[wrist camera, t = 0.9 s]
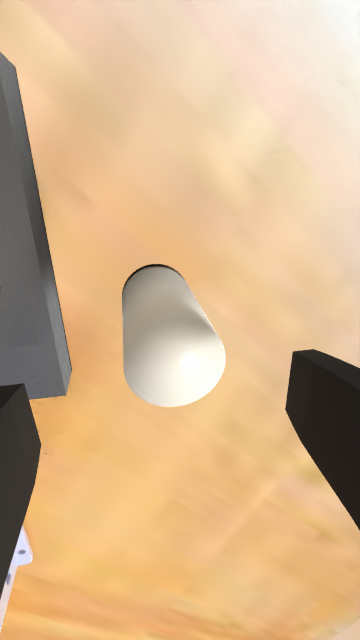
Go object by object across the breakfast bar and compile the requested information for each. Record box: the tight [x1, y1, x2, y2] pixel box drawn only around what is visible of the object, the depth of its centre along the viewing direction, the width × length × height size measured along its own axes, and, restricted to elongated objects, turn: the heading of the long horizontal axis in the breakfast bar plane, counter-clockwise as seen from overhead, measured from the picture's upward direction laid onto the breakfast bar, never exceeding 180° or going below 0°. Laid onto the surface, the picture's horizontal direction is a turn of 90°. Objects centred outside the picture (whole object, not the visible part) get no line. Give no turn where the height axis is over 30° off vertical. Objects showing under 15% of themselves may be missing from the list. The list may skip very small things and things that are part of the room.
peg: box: [122, 264, 226, 407], centre depth 15 cm, size 4×4×7 cm
